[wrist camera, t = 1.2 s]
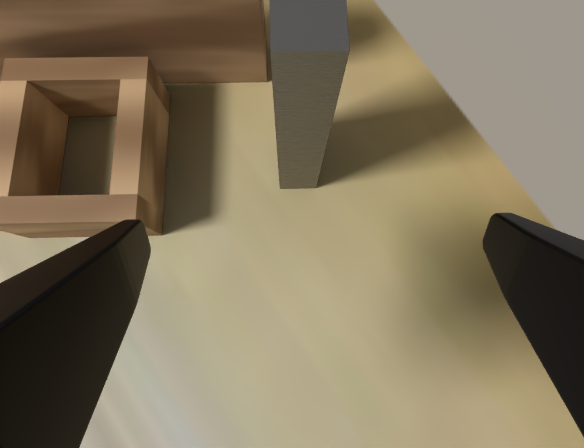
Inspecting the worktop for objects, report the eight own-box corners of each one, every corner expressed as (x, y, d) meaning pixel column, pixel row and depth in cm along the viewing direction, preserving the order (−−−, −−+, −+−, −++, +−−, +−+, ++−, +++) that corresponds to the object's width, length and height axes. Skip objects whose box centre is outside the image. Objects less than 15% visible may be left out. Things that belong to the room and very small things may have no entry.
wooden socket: (268, 233, 23) (252, 180, 13) (-80, 239, 22) (-367, 190, 12) (266, 45, 26) (253, -113, 16) (-39, 48, 25) (-244, -111, 16)
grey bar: (316, 188, 23) (349, 50, 11) (279, 188, 23) (270, 51, 11) (313, 132, 24) (342, -56, 11) (279, 133, 24) (269, -55, 11)
